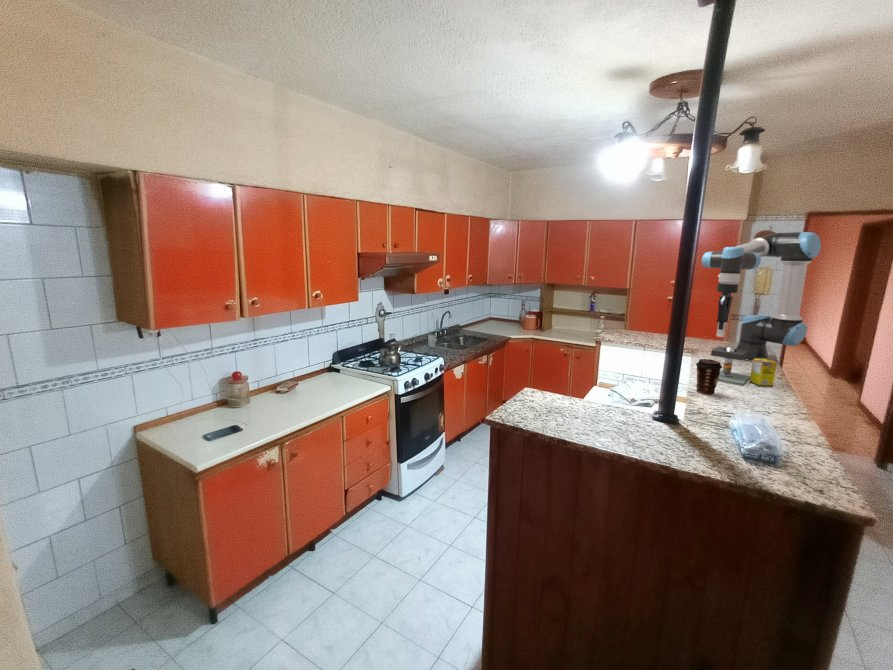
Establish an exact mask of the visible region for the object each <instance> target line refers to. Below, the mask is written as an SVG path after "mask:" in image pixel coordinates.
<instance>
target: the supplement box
mask: <svg viewBox="0 0 893 670" xmlns="http://www.w3.org/2000/svg"><path fill="white" fill-rule="evenodd" d="M777 365H778V362H777V361H775V360H772V359H770V358H768V359H758V358H754V359H753V361H752V364H751V372H750V375H749V376H750V380H749V381H748V383H750V384H752V385H754V386H756V387H758V388H773V387H774V382H775V376H776V372H777V371H776V370H777Z"/></svg>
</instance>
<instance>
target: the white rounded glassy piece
mask: <svg viewBox="0 0 893 670" xmlns="http://www.w3.org/2000/svg"><path fill="white" fill-rule="evenodd" d="M725 347H726V351H730V352H734V349H736V347H733V346H725ZM733 361H734V359H729V358H724V360H723V364H722V371H723V372H722V373H721V374H720V375H721V376H725V377H732V374H731V372H732V370H733Z"/></svg>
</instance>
